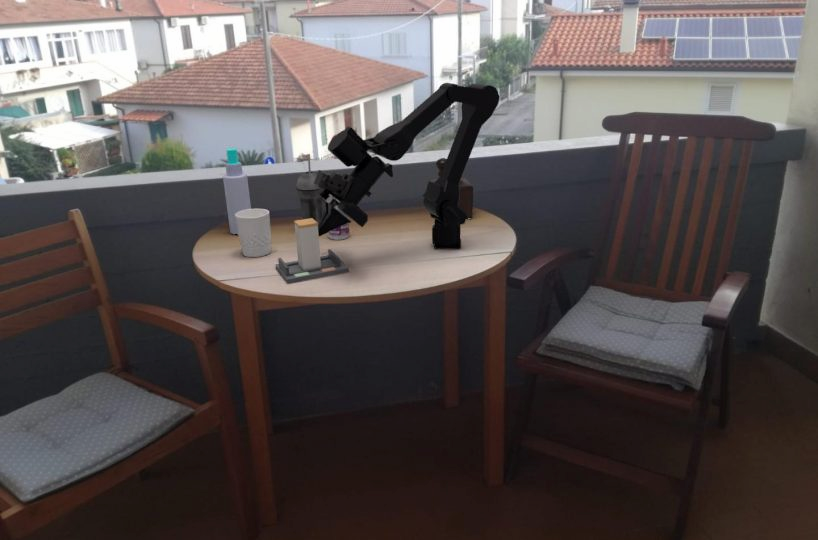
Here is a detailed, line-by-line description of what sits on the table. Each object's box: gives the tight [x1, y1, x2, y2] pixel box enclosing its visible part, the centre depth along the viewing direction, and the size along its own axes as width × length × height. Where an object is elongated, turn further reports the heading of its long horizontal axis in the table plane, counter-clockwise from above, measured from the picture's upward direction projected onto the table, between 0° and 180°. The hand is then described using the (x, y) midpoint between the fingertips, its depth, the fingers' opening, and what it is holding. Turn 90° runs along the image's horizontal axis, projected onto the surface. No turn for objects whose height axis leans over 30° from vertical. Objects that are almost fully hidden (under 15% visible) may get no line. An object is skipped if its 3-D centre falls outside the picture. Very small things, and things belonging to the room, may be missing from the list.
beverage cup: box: [295, 153, 324, 225], centre depth 165 cm, size 7×7×20 cm
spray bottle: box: [222, 148, 252, 236], centre depth 164 cm, size 6×6×22 cm
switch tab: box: [293, 218, 321, 270], centre depth 138 cm, size 4×4×10 cm
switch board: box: [274, 249, 350, 285], centre depth 140 cm, size 14×10×3 cm
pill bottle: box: [327, 223, 350, 241], centre depth 160 cm, size 5×5×10 cm
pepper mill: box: [430, 157, 474, 220], centre depth 172 cm, size 16×11×18 cm
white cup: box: [235, 208, 272, 258], centre depth 151 cm, size 8×8×10 cm
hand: (317, 234), depth 138 cm, fingers closed, pressing on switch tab
